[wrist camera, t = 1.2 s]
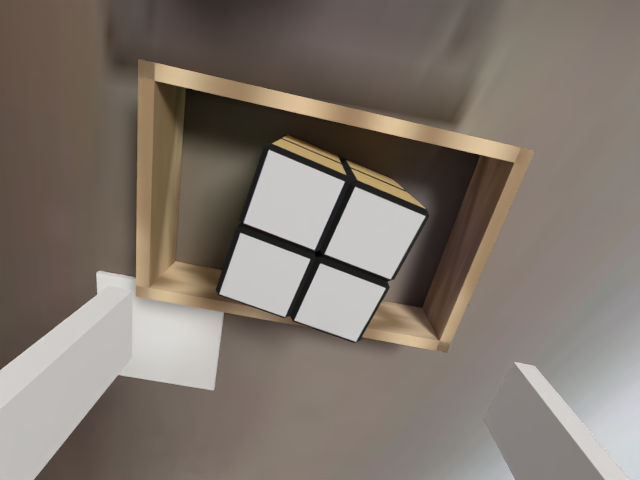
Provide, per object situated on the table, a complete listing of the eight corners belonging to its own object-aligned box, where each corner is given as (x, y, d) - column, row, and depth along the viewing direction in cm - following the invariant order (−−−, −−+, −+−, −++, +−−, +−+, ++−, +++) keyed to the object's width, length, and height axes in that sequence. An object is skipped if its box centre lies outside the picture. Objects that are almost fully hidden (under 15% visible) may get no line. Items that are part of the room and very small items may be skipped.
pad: (102, 369, 35) (100, 371, 34) (99, 270, 30) (96, 272, 30) (214, 387, 35) (213, 390, 35) (226, 294, 31) (225, 296, 31)
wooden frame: (164, 268, 30) (135, 296, 26) (173, 70, 24) (138, 58, 20) (428, 318, 32) (446, 352, 28) (496, 144, 26) (534, 150, 22)
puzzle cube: (347, 277, 31) (358, 347, 21) (246, 239, 29) (211, 297, 20) (395, 179, 27) (434, 212, 18) (284, 132, 26) (264, 141, 17)
